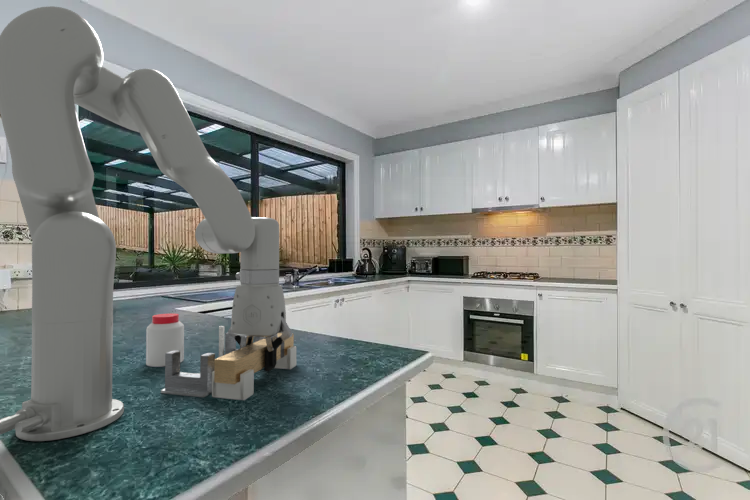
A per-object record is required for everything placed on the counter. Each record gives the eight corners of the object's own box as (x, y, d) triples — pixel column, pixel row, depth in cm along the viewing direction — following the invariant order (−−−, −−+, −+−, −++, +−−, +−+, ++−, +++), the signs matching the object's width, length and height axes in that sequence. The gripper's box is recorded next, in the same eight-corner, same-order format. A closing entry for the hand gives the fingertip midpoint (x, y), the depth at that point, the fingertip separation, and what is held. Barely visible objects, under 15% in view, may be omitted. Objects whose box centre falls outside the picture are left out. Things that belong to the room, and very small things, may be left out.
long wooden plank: (235, 384, 64) (235, 360, 64) (214, 382, 65) (214, 359, 65) (293, 351, 87) (293, 333, 87) (277, 350, 88) (277, 332, 88)
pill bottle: (154, 369, 83) (155, 319, 83) (140, 362, 87) (140, 315, 88) (189, 361, 89) (190, 314, 89) (174, 355, 94) (174, 311, 94)
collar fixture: (203, 397, 66) (204, 346, 66) (160, 393, 68) (161, 343, 68) (266, 362, 88) (267, 324, 88) (232, 360, 90) (232, 322, 90)
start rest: (244, 400, 65) (244, 374, 65) (211, 396, 66) (212, 372, 66) (296, 365, 85) (296, 346, 86) (270, 363, 87) (270, 344, 87)
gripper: (212, 278, 74) (211, 371, 74) (289, 280, 71) (289, 377, 70) (234, 276, 82) (233, 361, 82) (305, 278, 78) (305, 366, 78)
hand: (259, 367), depth 76 cm, fingers closed on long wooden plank, 4 cm apart
